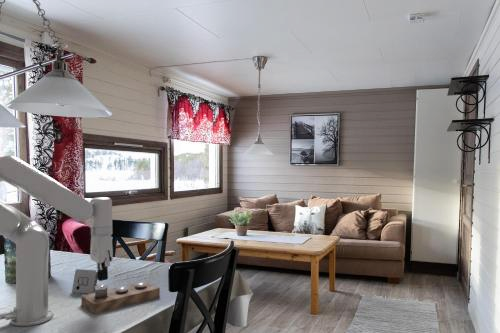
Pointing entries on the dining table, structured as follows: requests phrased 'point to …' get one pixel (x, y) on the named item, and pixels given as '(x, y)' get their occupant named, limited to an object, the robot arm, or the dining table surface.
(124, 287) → the knob mid
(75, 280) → the electrical switch
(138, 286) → the knob far
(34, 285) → the robot arm
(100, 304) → the knob mount
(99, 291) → the knob near
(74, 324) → the dining table surface
